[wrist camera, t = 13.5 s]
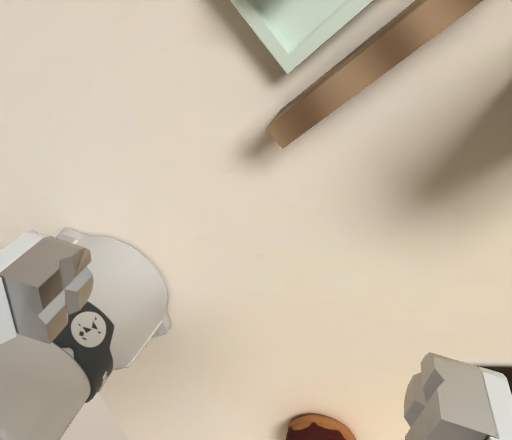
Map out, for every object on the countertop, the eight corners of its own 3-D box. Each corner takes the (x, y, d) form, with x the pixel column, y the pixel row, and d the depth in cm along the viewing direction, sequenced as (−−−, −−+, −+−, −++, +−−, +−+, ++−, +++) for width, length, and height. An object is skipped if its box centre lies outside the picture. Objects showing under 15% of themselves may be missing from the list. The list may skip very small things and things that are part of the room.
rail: (295, 127, 37) (282, 148, 32) (280, 109, 36) (266, 129, 32) (538, -58, 26) (564, -60, 22) (522, -87, 25) (546, -95, 21)
